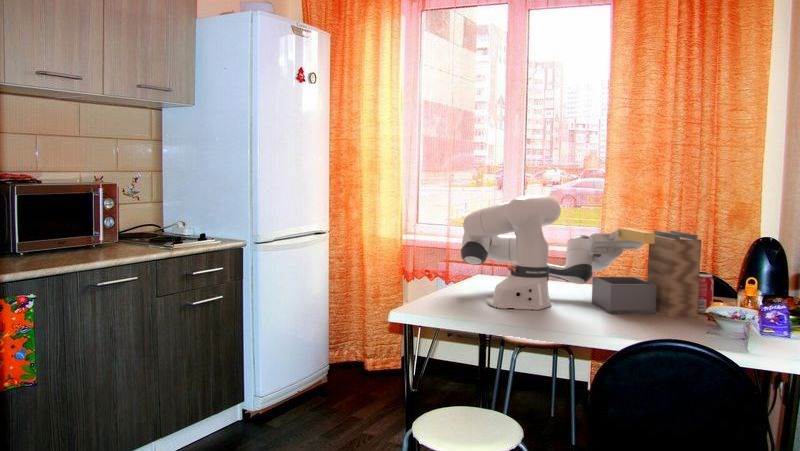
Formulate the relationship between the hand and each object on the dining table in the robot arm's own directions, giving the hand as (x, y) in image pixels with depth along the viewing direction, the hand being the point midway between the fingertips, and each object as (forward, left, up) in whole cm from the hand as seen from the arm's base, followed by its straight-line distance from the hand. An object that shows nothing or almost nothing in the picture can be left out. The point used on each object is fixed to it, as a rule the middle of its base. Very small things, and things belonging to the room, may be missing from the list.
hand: (625, 232), depth 223 cm
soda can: (+25, -7, -27) cm, 38 cm away
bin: (-1, -2, -27) cm, 27 cm away
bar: (0, -7, -2) cm, 8 cm away
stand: (+14, -7, -27) cm, 31 cm away
